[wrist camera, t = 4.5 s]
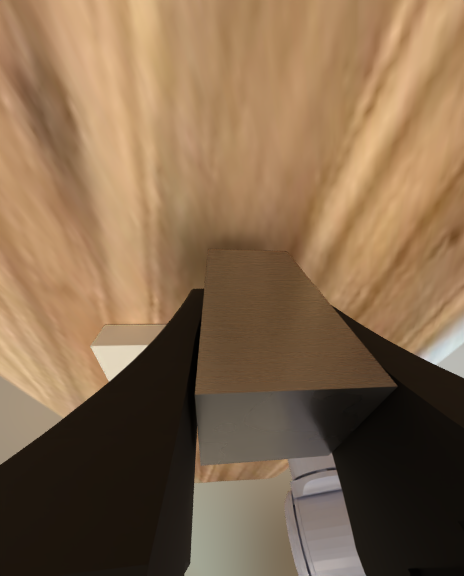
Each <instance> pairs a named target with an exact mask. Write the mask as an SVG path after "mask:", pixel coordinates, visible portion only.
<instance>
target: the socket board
mask: <svg viewBox="0 0 464 576" xmlns="http://www.w3.org/2000/svg"><path fill="white" fill-rule="evenodd" d="M165 326H166V325H104V327H103V328H102V330H101V331H100V333H99V334H98V335H97V337H96V338H95V340H94V341H93V343H92V344H91V346H90V347H91V348H92V350H93V352H94V354H95V356H96V358H97V360H98V362H99V364H100V365H101V367H102V369H103V371H104V373H105V375H106V377H107V379H108V381H111V380H112V379H113V378H114V377H115V376H116V375H117V374H118V373H120V372H121V371H122V370H123V369H124V368H125V367H126V366H127V365H128V364H130V363H131V362H132V361H133V360H134V359H135V358H136V357H137V356H138V355H139V354H140V353H141V352H142V351H143V350H144V349H145V348H146V347H147V346H148V345H149V344H150V343H151V342H152V341H153V340H154V339H155V338H156V337H157V335H158V334H159V333H160V332H161V331H162V330H163V328H164V327H165Z"/></svg>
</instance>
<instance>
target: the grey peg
mask: <svg viewBox="0 0 464 576" xmlns="http://www.w3.org/2000/svg"><path fill="white" fill-rule="evenodd" d="M397 387H398V386H397V385H396V384H395V382H394V381H393V380H392V379H391V377H390V376H389V375H388V374H387V373H386V371H385V370H384V369H383V368H382V367H381V365H380V364H379V363H378V362H377V360H376V359H375V358H374V357H373V356H372V354H371V353H370V352H369V351H368V350H367V348H366V347H365V346H364V345H363V343H362V342H361V341H360V340H359V339H358V337H357V336H356V335H355V334H354V333H353V331H352V330H351V329H350V328H349V327H348V325H347V324H346V323H345V322H344V320H343V319H342V318H341V317H340V316H339V314H338V313H337V312H336V311H335V310H334V308H333V307H332V306H331V305H330V303H329V302H328V301H327V300H326V299H325V297H324V296H323V295H322V294H321V293H320V291H319V290H318V289H317V288H316V286H315V285H314V284H313V283H312V282H311V280H310V279H309V278H308V277H307V276H306V274H305V273H304V272H303V271H302V269H301V268H300V267H299V266H298V265H297V263H296V262H295V261H294V260H293V259H292V257H291V256H290V255H289V254H288V252H287V251H257V250H228V249H208V255H207V266H206V277H205V288H204V299H203V310H202V321H201V332H200V343H199V354H198V365H197V376H196V387H195V403H196V415H197V427H198V438H199V450H200V462H201V466H202V465H215V464H228V463H241V462H254V461H267V460H280V459H293V458H306V457H319V456H329V455H330V454H331V453H332V452H333V451H334V450H335V449H336V448H337V447H338V446H339V445H340V444H341V443H342V442H343V441H344V440H345V439H346V438H347V437H348V436H349V435H350V434H351V433H352V432H353V431H354V430H355V429H356V428H357V427H358V426H359V425H360V424H361V423H362V422H363V421H364V420H365V419H366V418H367V417H368V416H369V415H370V414H371V413H372V412H373V411H374V410H375V409H376V408H377V407H378V406H379V405H380V404H381V403H382V402H383V401H384V400H385V399H386V398H387V397H388V396H389V395H390V394H391V393H392V392H393V391H394V390H395V389H396V388H397Z"/></svg>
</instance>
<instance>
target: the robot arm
mask: <svg viewBox="0 0 464 576" xmlns="http://www.w3.org/2000/svg"><path fill="white" fill-rule="evenodd" d="M203 299H204V289H193V290H191V292H190V293H189V295H188V297H187V298H186V300H185V301H184V303H183V304H182V306H181V307H180V308H179V310H178V311H177V312H176V314H175V315H174V316H173V318H172V319H171V320H170V321H169V323H168V324H167V325H166V326H165V327H164V328H163V330H162V331H161V332H160V333H159V334H158V335H157V337H156V338H155V339H154V340H153V341H152V342H151V343H150V344H149V345H148V346H147V347H146V348H145V349H144V350H143V351H142V352H141V353H140V354H139V355H138V356H137V357H136V358H135V359H134V360H133V361H132V362H131V363H130V364H128V365H127V366H126V367H125V368H124V369H123V370H122V371H121V372H120V373H118V374H117V375H116V376H115V377H114V378H113V379H112V380H111V381H109V382H108V383H107V384H106V385H105V386H104V387H102V388H101V389H100V390H99V391H98V392H96V393H95V394H94V395H93V396H91V397H90V398H89V399H87V400H86V401H85V402H84V403H82V404H81V405H80V406H79V407H77V408H76V409H75V410H74V411H72V412H71V413H70V414H69V415H67V416H66V417H65V418H64V419H62V420H61V421H60V422H59V423H57V424H56V425H55V426H53V427H52V428H51V429H49V430H48V431H47V432H45V433H44V434H43V435H42V436H40V437H39V438H37V439H36V440H34V441H33V442H32V443H30V444H29V445H28V446H26V447H25V448H23V449H22V450H20V451H19V452H18V453H17V454H15V455H14V456H12V457H11V458H9V459H8V460H7V461H5V462H4V463H2V464H1V465H0V576H184V573H185V572H186V570H187V568H188V567H189V565H190V557H191V555H190V554H191V534H192V515H193V494H194V476H195V457H196V439H197V415H196V403H195V387H196V376H197V365H198V354H199V343H200V332H201V321H202V310H203ZM331 306H332V305H331ZM332 307H333V306H332ZM333 308H334V310H335V311H336V312H337V313H338V314H339V316H340V317H341V318H342V319H343V320H344V322H345V323H346V324H347V325H348V327H349V328H350V329H351V330H352V331H353V333H354V334H355V335H356V336H357V337H358V339H359V340H360V341H361V342H362V343H363V345H364V346H365V347H366V348H367V350H368V351H369V352H370V353H371V354H372V356H373V357H374V358H375V359H376V360H377V362H378V363H379V364H380V365H381V367H382V368H383V369H384V370H385V371H386V373H387V374H388V375H389V376H390V377H391V379H392V380H393V381H394V382H395V384H396V385H397V386H398V387H397V388H396V389H395V390H394V391H393V392H392V393H391V394H390V395H389V396H388V397H387V398H386V399H385V400H384V401H383V402H382V403H381V404H380V405H379V406H378V407H377V408H376V409H375V410H374V411H373V412H372V413H371V414H370V415H369V416H368V417H367V418H366V419H365V420H364V421H363V422H362V423H361V424H360V425H359V426H358V427H357V428H356V429H355V430H354V431H353V432H352V433H351V434H350V435H349V436H348V437H347V438H346V439H345V440H344V441H343V442H342V443H341V444H340V445H339V446H338V447H337V448H336V449H335V450H334V451H333V452H332V453H331V454H330V455H329V456H319V457H306V458H293V459H288V463H289V467H290V472H291V475H292V480H293V481H290V485H291V489H292V490H290V491H288V492H287V496H286V499H285V516H286V523H287V529H288V534H289V540H290V544H291V549H292V553H293V557H294V561H295V565H296V568H297V572H298V575H299V576H464V378H462V377H460V376H458V375H456V374H454V373H451V372H449V371H447V370H445V369H443V368H441V367H439V366H436V365H434V364H432V363H430V362H428V361H426V360H424V359H422V358H420V357H418V356H416V355H414V354H412V353H410V352H409V351H407V350H405V349H403V348H401V347H399V346H397V345H395V344H393V343H392V342H390V341H388V340H386V339H384V338H383V337H381V336H379V335H378V334H376V333H374V332H373V331H371V330H369V329H368V328H366V327H364V326H363V325H361V324H359V323H358V322H356V321H355V320H353V319H352V318H350V317H349V316H347V315H345V314H344V313H342V312H341V311H339V310H338V309H336V308H335V307H333Z"/></svg>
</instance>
